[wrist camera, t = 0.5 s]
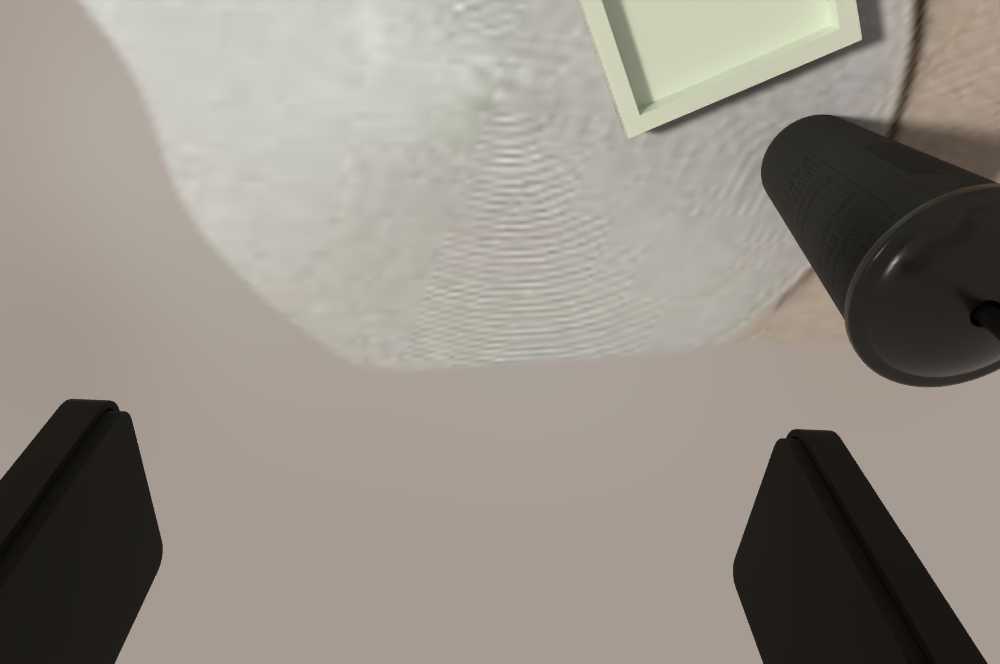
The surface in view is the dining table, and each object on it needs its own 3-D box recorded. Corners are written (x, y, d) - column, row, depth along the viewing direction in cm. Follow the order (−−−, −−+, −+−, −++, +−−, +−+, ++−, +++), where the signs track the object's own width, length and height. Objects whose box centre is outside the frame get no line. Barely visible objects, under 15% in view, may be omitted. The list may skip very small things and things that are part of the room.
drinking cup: (700, 170, 36) (896, 426, 19) (828, 48, 33) (1196, 221, 16) (792, 261, 39) (1036, 555, 22) (918, 156, 36) (1312, 400, 19)
